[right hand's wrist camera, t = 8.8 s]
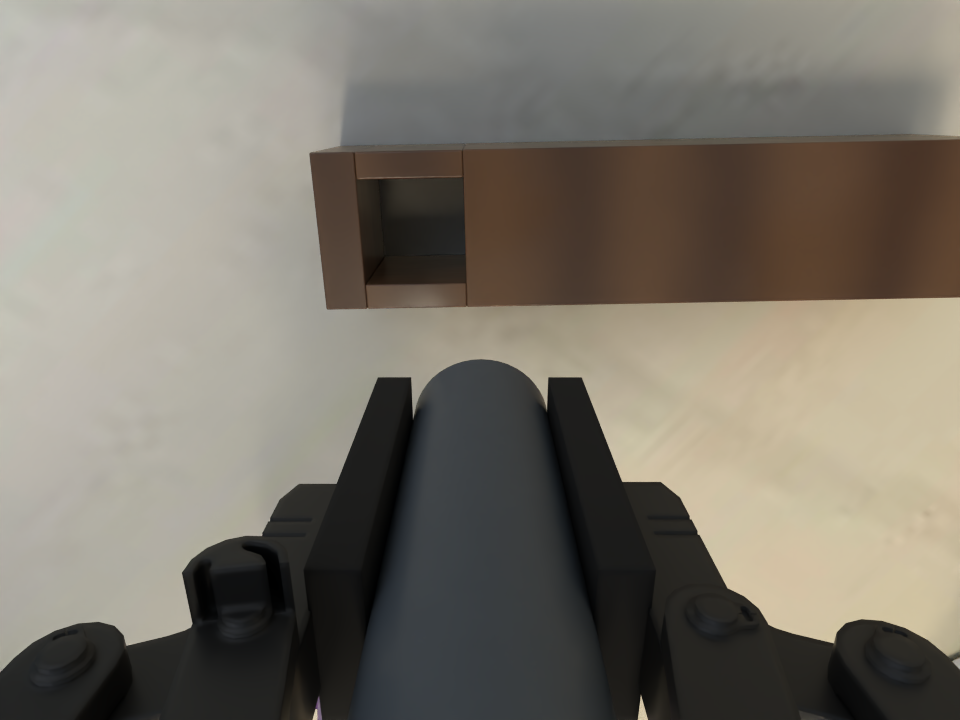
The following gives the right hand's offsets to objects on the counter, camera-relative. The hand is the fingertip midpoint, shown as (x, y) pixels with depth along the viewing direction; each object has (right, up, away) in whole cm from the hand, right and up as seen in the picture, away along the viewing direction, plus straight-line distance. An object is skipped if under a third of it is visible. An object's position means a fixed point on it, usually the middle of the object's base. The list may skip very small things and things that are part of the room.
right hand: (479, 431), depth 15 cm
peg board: (+7, +9, +17) cm, 21 cm away
